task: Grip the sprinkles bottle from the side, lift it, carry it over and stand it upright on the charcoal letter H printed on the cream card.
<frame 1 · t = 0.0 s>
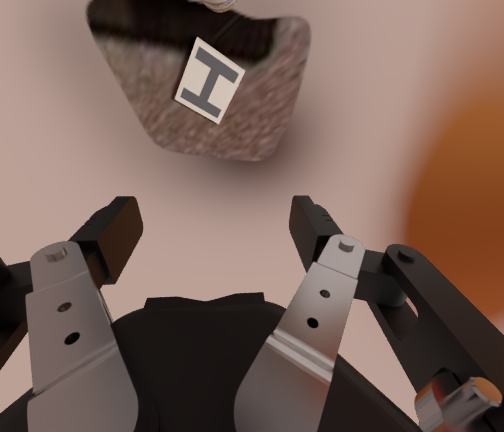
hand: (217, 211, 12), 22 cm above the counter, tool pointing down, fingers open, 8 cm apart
letter card: (209, 84, 27), on the counter
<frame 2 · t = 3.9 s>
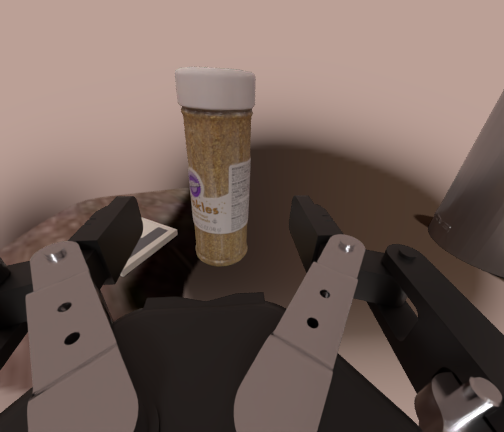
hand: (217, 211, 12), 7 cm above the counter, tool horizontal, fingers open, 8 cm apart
sprinkles bottle: (222, 252, 20), on the counter
letter card: (124, 241, 20), on the counter
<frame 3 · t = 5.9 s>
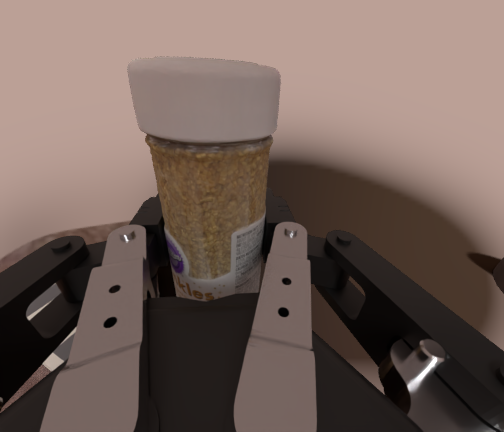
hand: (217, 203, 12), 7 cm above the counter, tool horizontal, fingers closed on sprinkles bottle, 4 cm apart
sprinkles bottle: (221, 325, 14), on the counter, touching gripper
letter card: (83, 308, 14), on the counter
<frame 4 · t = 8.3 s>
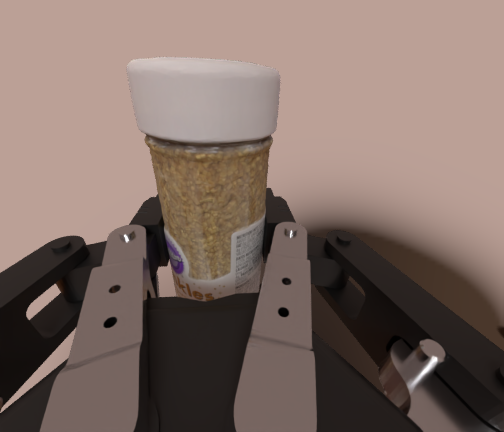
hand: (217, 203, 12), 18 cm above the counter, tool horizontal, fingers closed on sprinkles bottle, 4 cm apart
sprinkles bottle: (221, 326, 14), point 10 cm above the counter, touching gripper
when the fingers open (9 cm above the counter, at t = 10.6 s): sprinkles bottle drops 1 cm, resting on letter card.
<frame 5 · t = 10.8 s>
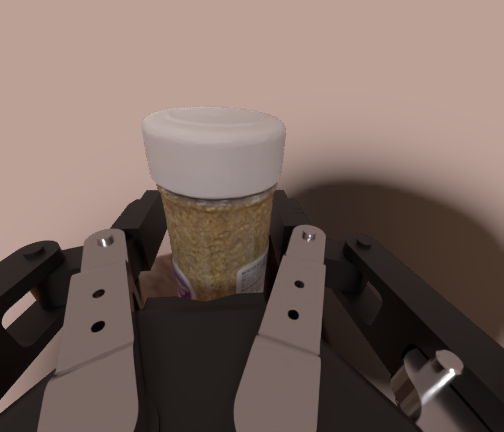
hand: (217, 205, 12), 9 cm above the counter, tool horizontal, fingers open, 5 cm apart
sprinkles bottle: (223, 340, 15), resting on letter card
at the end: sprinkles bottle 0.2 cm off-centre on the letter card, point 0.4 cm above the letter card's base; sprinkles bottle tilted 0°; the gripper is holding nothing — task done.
